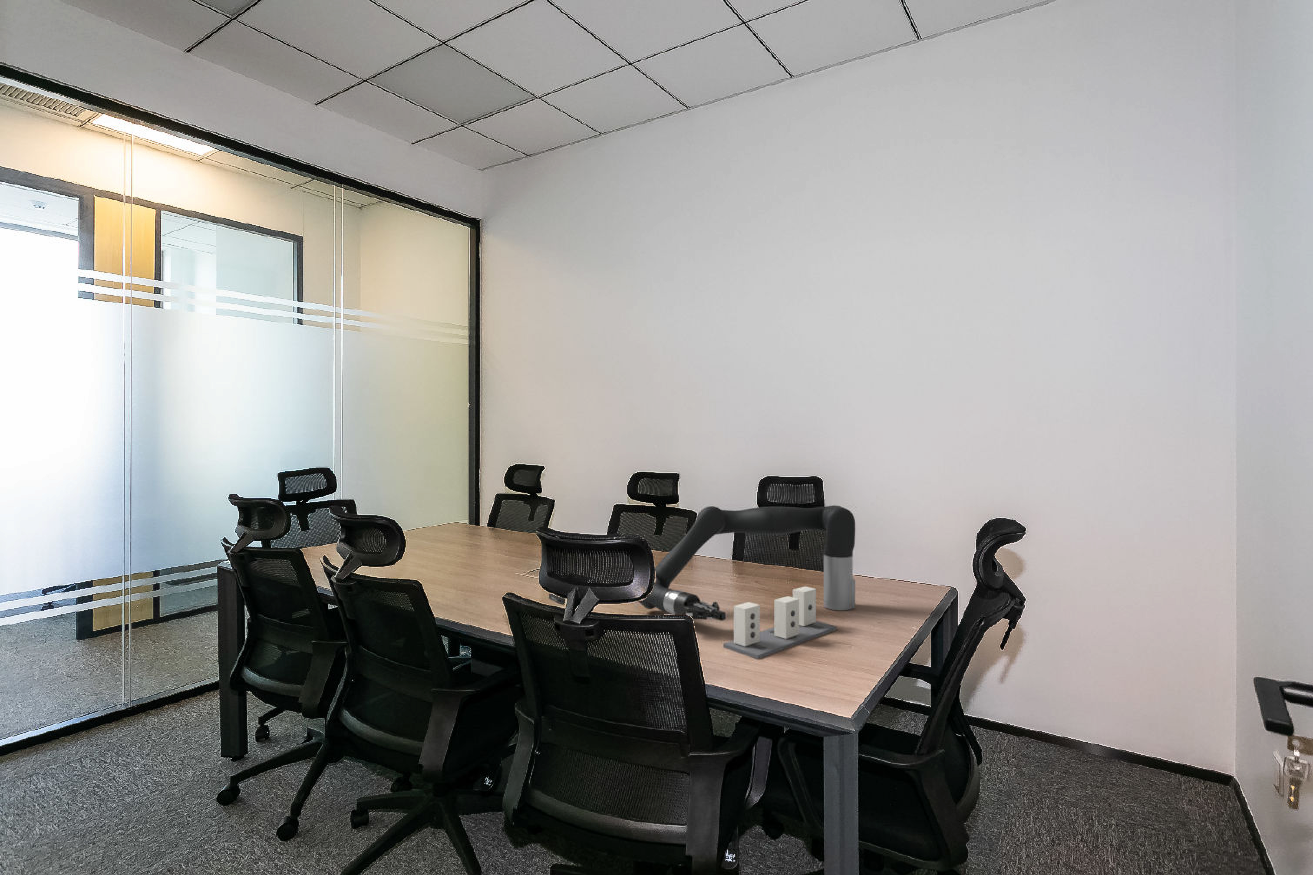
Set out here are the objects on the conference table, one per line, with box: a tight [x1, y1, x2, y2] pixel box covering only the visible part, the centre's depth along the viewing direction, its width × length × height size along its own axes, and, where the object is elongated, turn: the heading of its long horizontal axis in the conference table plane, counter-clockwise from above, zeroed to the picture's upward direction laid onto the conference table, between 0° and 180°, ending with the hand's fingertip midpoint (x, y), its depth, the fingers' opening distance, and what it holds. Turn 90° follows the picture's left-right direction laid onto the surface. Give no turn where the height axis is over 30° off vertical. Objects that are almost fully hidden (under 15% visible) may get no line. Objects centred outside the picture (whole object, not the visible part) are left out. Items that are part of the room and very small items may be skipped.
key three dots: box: [733, 601, 761, 646], centre depth 178 cm, size 4×6×10 cm
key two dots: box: [773, 595, 799, 639], centre depth 183 cm, size 4×6×10 cm
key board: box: [723, 620, 838, 660], centre depth 185 cm, size 12×36×1 cm, turn 131°
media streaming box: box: [548, 593, 565, 606], centre depth 229 cm, size 15×15×3 cm
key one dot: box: [792, 586, 817, 626], centre depth 195 cm, size 4×6×10 cm
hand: (723, 616), depth 184 cm, fingers closed
